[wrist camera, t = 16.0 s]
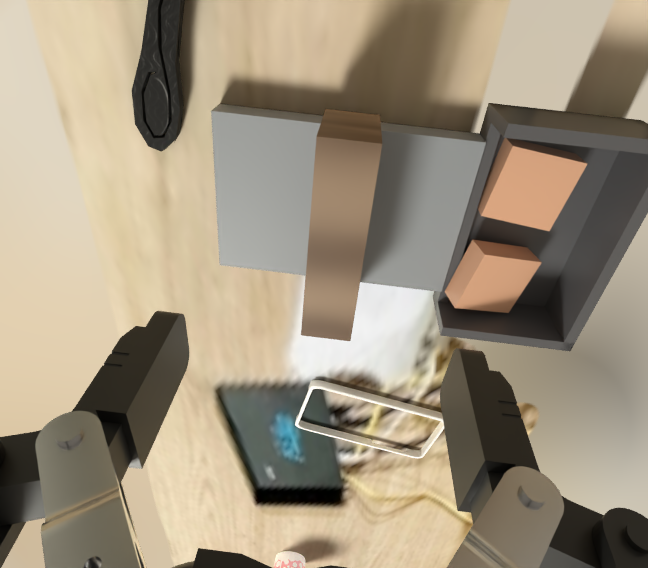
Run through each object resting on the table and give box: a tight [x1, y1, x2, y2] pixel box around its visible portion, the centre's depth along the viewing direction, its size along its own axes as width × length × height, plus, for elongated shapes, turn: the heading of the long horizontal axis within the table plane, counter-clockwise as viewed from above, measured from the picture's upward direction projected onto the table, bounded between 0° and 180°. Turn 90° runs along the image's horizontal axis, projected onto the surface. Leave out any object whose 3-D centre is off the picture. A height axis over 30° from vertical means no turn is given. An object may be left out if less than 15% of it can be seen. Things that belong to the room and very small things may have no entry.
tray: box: [433, 103, 648, 351], centre depth 32 cm, size 16×10×5 cm, turn 175°
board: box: [211, 104, 486, 292], centre depth 33 cm, size 12×18×2 cm, turn 85°
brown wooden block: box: [301, 109, 382, 341], centre depth 30 cm, size 14×4×6 cm, turn 175°
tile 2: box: [445, 239, 542, 313], centre depth 34 cm, size 5×5×2 cm
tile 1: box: [478, 138, 587, 231], centre depth 30 cm, size 5×5×2 cm
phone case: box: [295, 380, 444, 458], centre depth 48 cm, size 7×1×15 cm
